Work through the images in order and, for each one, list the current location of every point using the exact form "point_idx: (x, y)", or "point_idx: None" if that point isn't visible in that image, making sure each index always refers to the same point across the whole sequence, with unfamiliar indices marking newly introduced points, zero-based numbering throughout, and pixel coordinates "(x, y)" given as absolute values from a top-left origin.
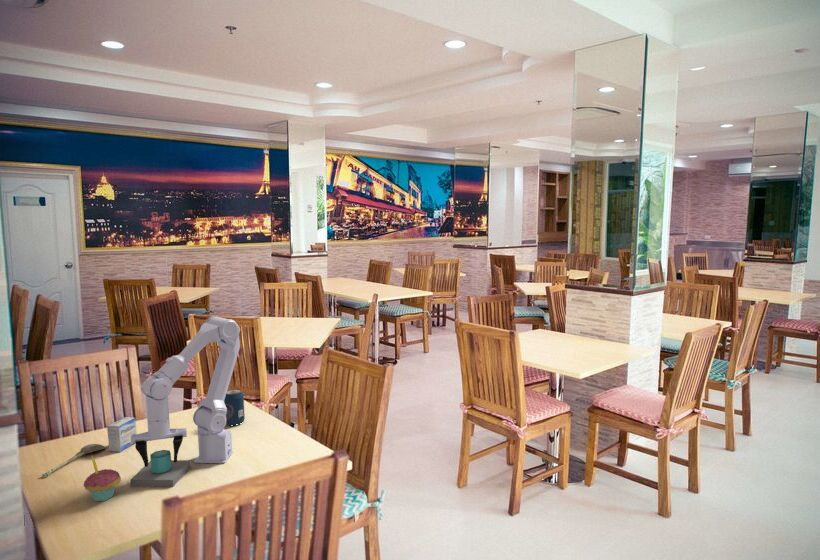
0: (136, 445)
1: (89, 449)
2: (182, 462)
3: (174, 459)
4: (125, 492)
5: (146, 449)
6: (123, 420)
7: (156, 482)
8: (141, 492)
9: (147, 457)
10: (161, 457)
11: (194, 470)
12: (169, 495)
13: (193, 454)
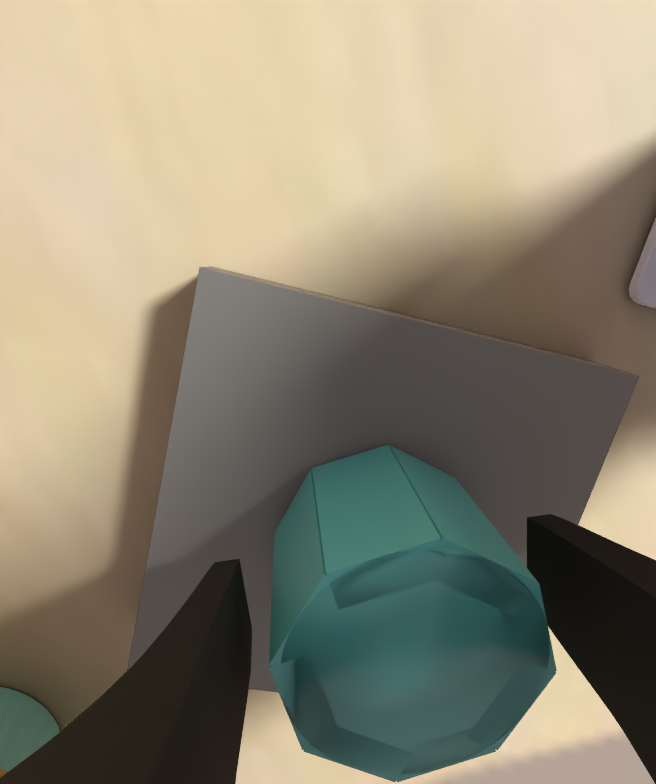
0: None
1: None
2: (559, 409)
3: (556, 627)
4: None
5: (200, 748)
6: None
7: None
8: (261, 713)
9: (227, 624)
10: (447, 765)
11: (620, 442)
12: (461, 767)
13: (620, 40)
